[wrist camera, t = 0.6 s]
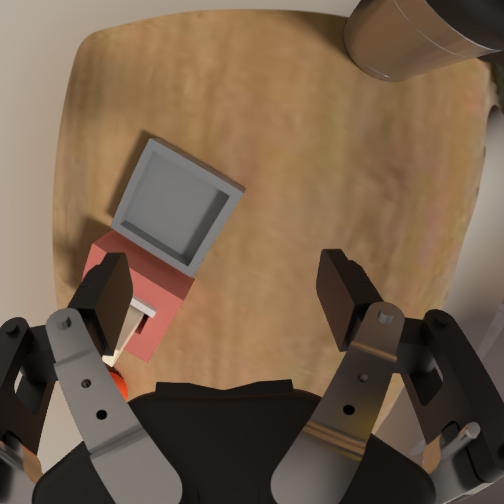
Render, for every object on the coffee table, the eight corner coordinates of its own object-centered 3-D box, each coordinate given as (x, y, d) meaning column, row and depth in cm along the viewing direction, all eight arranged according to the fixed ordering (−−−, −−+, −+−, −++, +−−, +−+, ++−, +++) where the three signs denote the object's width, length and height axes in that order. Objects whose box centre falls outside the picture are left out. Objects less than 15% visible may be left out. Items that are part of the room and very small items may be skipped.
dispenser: (113, 228, 34) (89, 245, 29) (194, 279, 36) (182, 303, 31) (89, 296, 39) (70, 317, 33) (159, 340, 40) (146, 366, 35)
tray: (158, 137, 30) (149, 137, 28) (246, 188, 31) (243, 192, 29) (119, 220, 34) (110, 227, 32) (197, 268, 35) (192, 278, 33)
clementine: (88, 367, 45) (70, 394, 38) (103, 352, 43) (84, 381, 36) (122, 395, 47) (107, 423, 40) (140, 383, 45) (126, 413, 38)
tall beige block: (122, 269, 36) (73, 320, 25) (158, 291, 37) (118, 351, 26) (116, 286, 37) (69, 338, 26) (150, 307, 38) (112, 366, 27)
